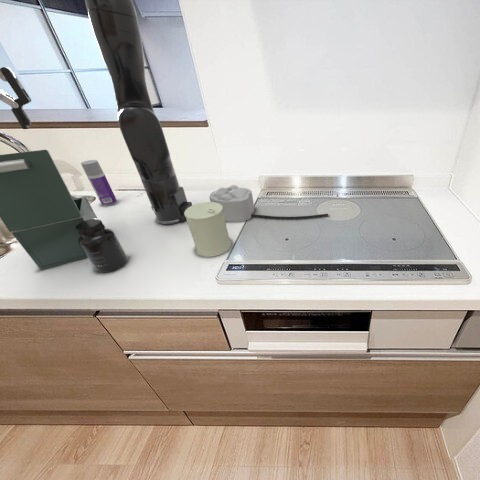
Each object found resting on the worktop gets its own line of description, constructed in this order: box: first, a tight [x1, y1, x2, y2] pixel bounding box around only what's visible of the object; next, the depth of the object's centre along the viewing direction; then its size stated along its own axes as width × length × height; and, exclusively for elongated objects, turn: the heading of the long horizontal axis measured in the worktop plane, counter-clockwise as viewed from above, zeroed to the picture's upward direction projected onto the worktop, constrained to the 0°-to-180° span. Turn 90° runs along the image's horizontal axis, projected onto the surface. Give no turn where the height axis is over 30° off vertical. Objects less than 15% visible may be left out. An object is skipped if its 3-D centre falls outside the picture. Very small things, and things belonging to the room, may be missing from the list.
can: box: [184, 201, 232, 258], centre depth 69 cm, size 9×9×12 cm
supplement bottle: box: [75, 218, 128, 273], centre depth 63 cm, size 7×7×12 cm
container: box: [80, 159, 118, 207], centre depth 90 cm, size 5×5×15 cm
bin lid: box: [0, 149, 82, 233], centre depth 56 cm, size 16×13×5 cm
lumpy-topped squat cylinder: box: [208, 184, 256, 223], centre depth 86 cm, size 10×13×9 cm
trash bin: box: [11, 196, 99, 271], centre depth 69 cm, size 15×13×11 cm
